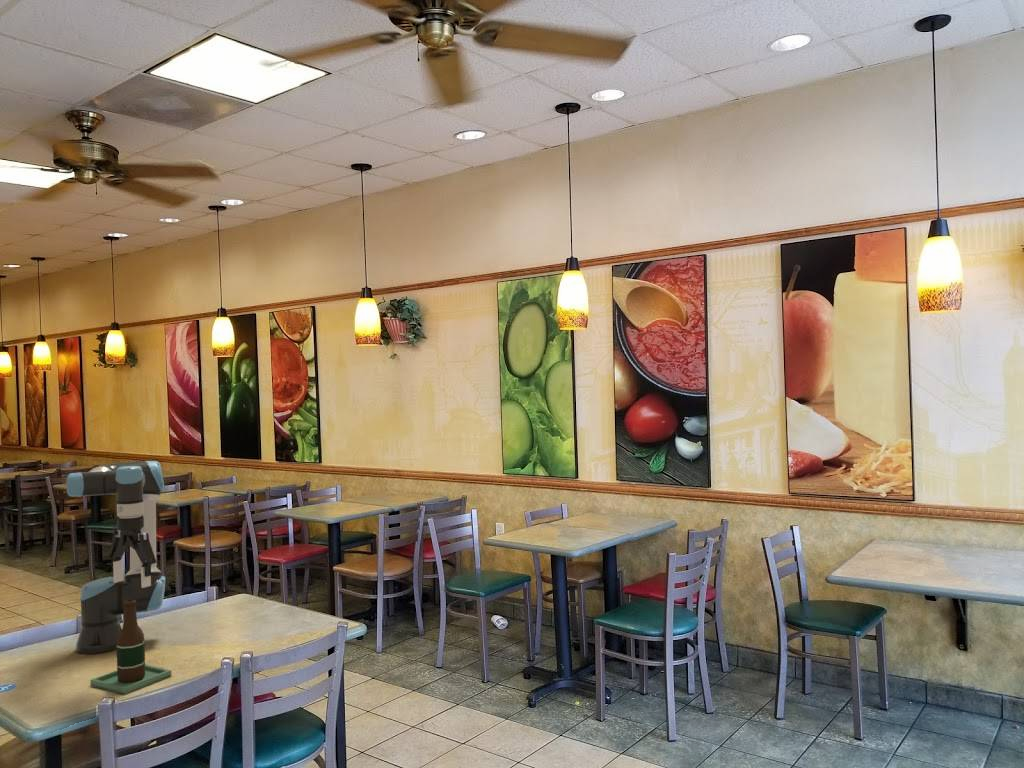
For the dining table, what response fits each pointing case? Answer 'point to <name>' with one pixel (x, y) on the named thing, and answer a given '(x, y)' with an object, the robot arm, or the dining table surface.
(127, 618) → the beer bottle
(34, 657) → the dining table surface
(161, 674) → the tray
